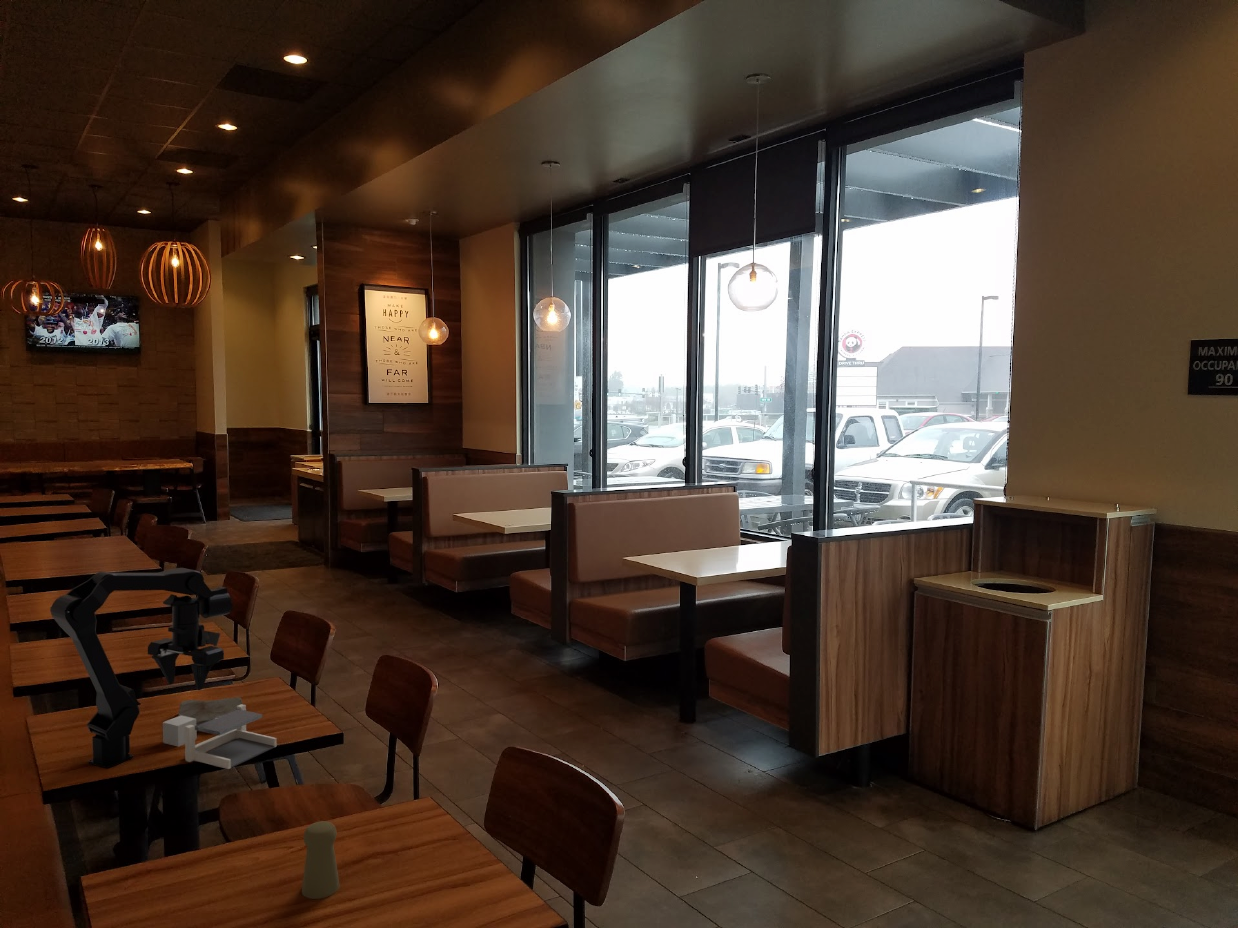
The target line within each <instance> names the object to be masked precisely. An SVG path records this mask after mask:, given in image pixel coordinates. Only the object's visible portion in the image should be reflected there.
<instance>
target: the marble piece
mask: <svg viewBox="0 0 1238 928" xmlns="http://www.w3.org/2000/svg"><path fill="white" fill-rule="evenodd" d="M241 704H243V699H242V698H241V696H237V697H233V698H231V697H227V698H226V697H225V698H223V699H214V700H201V699H200V700H199V699H197V700H196V699H188V700H187V699H186V700H183V701H181V703H180V704H179V707H178V708H179V710H178V715H177V717H178V716H181V715H182V716H186V717H191V718H195V719H196V725H199V724H201V723H203V722H206V721H208V720H211V719H213V718H216V717H218V716H221V715H223V714H226V713H228V712H231V711H233V710H236V709H237V706H238V705H241ZM197 732H198V733H199V732H201V731H198V730H197Z"/></svg>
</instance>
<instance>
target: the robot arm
mask: <svg viewBox="0 0 1238 928" xmlns="http://www.w3.org/2000/svg"><path fill="white" fill-rule="evenodd" d="M114 591H115V592H117V591H118V592H122V591H124V592H126V591H128V592H129V591H130V592H131V591H134V592H135V591H165V592H172V593H174V594H172V593H171V594H169V595H168V596H169V597H167V598H166V599H164V601H163V602H162V604H163V605H164V606H169V607H172V621H171V622H172V623H171V624H172V626H168V627H167V632H170V633H172V635H171V636H172V638H169V637H165V638H161V639H158V640H153V641H150V643H149V644H148V646H147V655H150V656H151V659H153V660H154V661H155V663H156V664H157V666H158V668H159V669H160V670H161V672H162V674H163V676H164V678H165V680H166V682H167V683H168V684H169V685H173V684H175V677H176V662H177V659H178V657H179V656H180V655H184V656H188V657H191V661H192V662H193V663H191V670H192V674H193V675H192V676H193V679H194V682H195V683H194V684H195V687H196V690H197V691H201V690H203V688H204V685H205V682H206V679H207V677H208V675H209V673H210V671H211V669H212V667H213V666H214V665H215V664H217V663H220V661H221V660H224V659H225V650H224V649H223V648H222V647H219V646H218V645H219V640H220V638H221V637H220V636H221V633H220V632H214V631H208V630H205V625H204V624H203V623H202V624H201V623H200V617H202V618H203V619H209V618H215V617H222V616H225V615H229V614H230V613H231V612H232V610H233V607H234V606H233V605H234V604H233V603H234V602H233V601H232V597H231V596H230V594H229V593H228V588H227V587H224V586H220V587H217V588H211V589H210V588H209V586H208V585H207V584H206V582H205V579H204V575H203V574H202V573H201V572H200V571H198V570H194V569H189V568H186V567H185V568H184V567H175V568H170V569H166V570H163V571H159V572H106V571H99V572H96V573H95V574H94V575H92V576H91V577H90V578H89V579H88V580H85V581H84V582H82V583H81V584H78V585H77V586H74V587H73V588H72V589H70V590H69V591H68V592H67V593H66V594H64V595H61V596H59V597H57V598H56V599H55V600H54V601H53V603H52V605H51V607H50V611H49V612H50V615H51V617H52V618H53V620H54V621H55V622H56V623H57V625H58V626H59V627H60V629H62V630H63V631H64V632H65V633H66V634H67V635H68V636H69V637H70V639H71V640H72V643H73V644H74V646H75V648H76V651H77V653H78V655H79V657H80V659H81V662H82V664H83V666H84V668H85V671H86V673H87V675H88V677H89V678H90V680H91V683H92V685H93V687H94V689H95V691H96V698H95V704H96V712H95V714H94V715H93V716H92V718H91V719H89V721H88V722H87V724H86V727H87V729H88V731H89V732H90V734H91V733H93V734H95V735H93V736H92V738H91V739H92V743H91V744H92V758H91V759H88V761H87V763H88V764H90V765H94V766H98V767H100V768H101V767H102V768H106V769H108V768H111V767H114V766H116V765H119V764H121V763H124V762H126V761H129V760H131V759H134V755H133V754H130V752H131V743H130V742H131V740H130V739H131V738H130V735H131V734H132V731H133V727H134V724H135V723H136V721H137V719H138V716H139V715H140V708H139V706H141V705H142V704H141V702H140V701H138V699H137V695H136V692H135V690H134V689H133V688H131V687H128V686H125V685H122V684H120V682H119V680H118V678H117V676H116V673H115V671H114V669H113V667H112V665H111V662H110V660H109V658H108V655H107V654H106V652H105V649H104V648H103V646H102V643H101V640H100V638H99V635H98V634H97V630H96V629H97V616H96V612H97V611H98V610H99V609H101V608H102V606H103V605H104V604H105V602H106V601H107V599H108V597H109V596H110V595H111V594H112V593H113V592H114ZM175 593H176V594H181V596H178V595H175ZM192 596H196V597H192ZM209 645H210V646H209Z"/></svg>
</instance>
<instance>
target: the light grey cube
mask: <svg viewBox="0 0 1238 928" xmlns="http://www.w3.org/2000/svg"><path fill="white" fill-rule="evenodd" d="M188 725H194V726H196V719H195V718H191V717H186V716H182V715H181V716H178V715H177V716H176V717H174V718H171V719H168V720H165V721H163V722H162V743H163V744H167V745H170V746H175V747H181V746H183V745H184V746H185V727H186V726H188ZM197 739H198V737H197V730H195V741H196V740H197Z"/></svg>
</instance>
